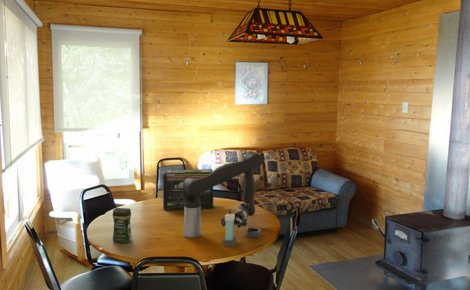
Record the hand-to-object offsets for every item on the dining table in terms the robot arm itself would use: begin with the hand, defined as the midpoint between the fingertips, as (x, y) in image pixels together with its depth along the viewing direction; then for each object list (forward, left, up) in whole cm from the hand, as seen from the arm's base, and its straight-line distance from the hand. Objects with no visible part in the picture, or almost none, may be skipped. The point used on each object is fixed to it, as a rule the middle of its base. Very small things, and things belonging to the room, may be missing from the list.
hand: (230, 225), depth 227 cm
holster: (0, -1, -10) cm, 10 cm away
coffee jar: (-59, -6, -10) cm, 60 cm away
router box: (-39, +64, -10) cm, 76 cm away
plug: (0, -1, -10) cm, 10 cm away
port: (+12, +14, -10) cm, 21 cm away
